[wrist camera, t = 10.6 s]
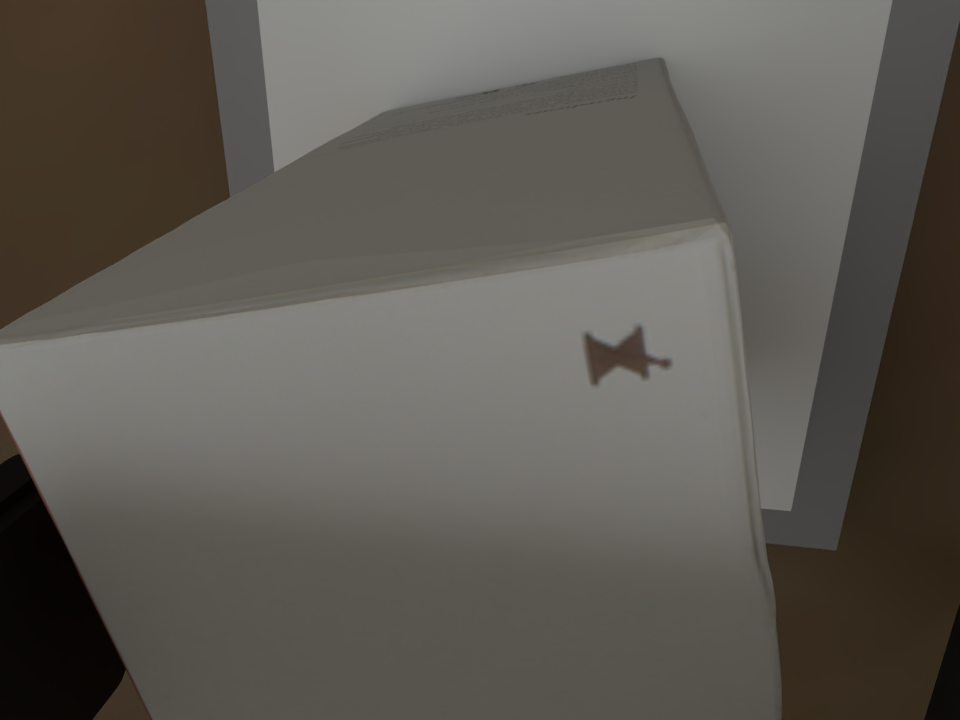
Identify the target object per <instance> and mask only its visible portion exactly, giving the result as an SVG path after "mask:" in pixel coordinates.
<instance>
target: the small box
mask: <svg viewBox="0 0 960 720" xmlns="http://www.w3.org/2000/svg"><path fill="white" fill-rule="evenodd" d="M0 415H1V417H2V419H3V421H4V422H5V424H6V426H7V428H8V430H9V432H10V434H11V437H12V439H13V441H14V443H15V445H16V447H17V449H18V451H19V453H20V455H21V457H22V459H23V461H24V463H25V465H26V467H27V469H28V472H29V474H30V476H31V478H32V480H33V482H34V484H35V486H36V488H37V490H38V492H39V494H40V496H41V498H42V500H43V502H44V504H45V506H46V508H47V510H48V512H49V514H50V516H51V518H52V520H53V522H54V524H55V526H56V528H57V530H58V532H59V534H60V535H61V537H62V539H63V541H64V543H65V545H66V547H67V549H68V551H69V554H70V556H71V558H72V560H73V562H74V564H75V567H76V569H77V571H78V573H79V575H80V577H81V579H82V581H83V583H84V585H85V587H86V589H87V591H88V593H89V595H90V597H91V599H92V601H93V604H94V606H95V608H96V610H97V612H98V614H99V616H100V618H101V620H102V622H103V624H104V626H105V628H106V630H107V632H108V634H109V636H110V638H111V640H112V642H113V644H114V646H115V648H116V650H117V652H118V654H119V656H120V658H121V660H122V662H123V664H124V666H125V668H126V670H127V672H128V675H129V677H130V679H131V681H132V683H133V685H134V687H135V689H136V691H137V693H138V695H139V697H140V699H141V701H142V703H143V705H144V707H145V709H146V711H147V713H148V715H149V717H150V720H782V688H781V669H780V659H779V648H778V638H777V628H776V601H775V595H774V588H773V582H772V577H771V573H770V569H769V565H768V558H767V551H766V543H765V536H764V528H763V520H762V513H761V504H760V494H759V484H758V473H757V463H756V452H755V442H754V431H753V421H752V410H751V399H750V389H749V378H748V367H747V357H746V347H745V338H744V329H743V320H742V311H741V302H740V293H739V284H738V275H737V266H736V257H735V249H734V242H733V236H732V231H731V228H730V225H729V223H728V220H727V217H726V215H725V212H724V209H723V207H722V205H721V203H720V201H719V198H718V195H717V192H716V189H715V187H714V184H713V182H712V179H711V177H710V174H709V172H708V169H707V167H706V164H705V162H704V159H703V157H702V155H701V152H700V150H699V147H698V145H697V142H696V139H695V136H694V134H693V131H692V129H691V127H690V124H689V122H688V120H687V117H686V115H685V113H684V110H683V108H682V106H681V104H680V102H679V101H678V98H677V96H676V94H675V91H674V89H673V87H672V84H671V81H670V77H669V72H668V70H667V67H666V63H665V60H664V59H663V58H654V59H649V60H644V61H639V62H634V63H629V64H623V65H618V66H613V67H608V68H603V69H598V70H593V71H588V72H583V73H578V74H573V75H568V76H563V77H558V78H553V79H548V80H543V81H538V82H532V83H527V84H522V85H517V86H512V87H507V88H502V89H497V90H492V91H487V92H482V93H476V94H471V95H466V96H461V97H455V98H450V99H444V100H439V101H434V102H429V103H424V104H419V105H414V106H409V107H404V108H399V109H394V110H389V111H385V112H382V113H380V114H379V115H377V116H374V117H373V118H371V119H370V120H368V121H366V122H364V123H362V124H360V125H359V126H357V127H355V128H354V129H352V130H350V131H348V132H346V133H344V134H342V135H340V136H338V137H336V138H334V139H332V140H330V141H328V142H327V143H325V144H323V145H321V146H319V147H318V148H316V149H314V150H312V151H310V152H309V153H307V154H305V155H304V156H302V157H300V158H299V159H297V160H295V161H293V162H292V163H290V164H288V165H286V166H285V167H283V168H281V169H279V170H278V171H276V172H274V173H273V174H271V175H269V176H268V177H266V178H265V179H263V180H261V181H259V182H257V183H256V184H254V185H252V186H250V187H248V188H246V189H245V190H243V191H241V192H239V193H236V194H234V195H233V196H231V197H230V198H228V199H227V200H225V201H223V202H221V203H219V204H217V205H216V206H214V207H212V208H210V209H208V210H206V211H204V212H203V213H201V214H199V215H197V216H196V217H194V218H192V219H190V220H189V221H187V222H185V223H184V224H182V225H181V226H179V227H178V228H176V229H175V230H173V231H171V232H169V233H167V234H165V235H163V236H162V237H160V238H158V239H156V240H154V241H153V242H151V243H149V244H147V245H146V246H144V247H142V248H140V249H139V250H137V251H135V252H134V253H132V254H130V255H129V256H127V257H125V258H124V259H122V260H120V261H119V262H117V263H115V264H113V265H112V266H110V267H108V268H106V269H104V270H102V271H100V272H99V273H97V274H95V275H93V276H91V277H90V278H88V279H86V280H84V281H82V282H81V283H79V284H77V285H75V286H74V287H72V288H70V289H69V290H67V291H65V292H64V293H62V294H61V295H59V296H57V297H56V298H54V299H52V300H51V301H49V302H47V303H45V304H43V305H42V306H40V307H38V308H36V309H34V310H32V311H31V312H29V313H27V314H25V315H24V316H22V317H20V318H19V319H17V320H15V321H14V322H12V323H11V324H9V325H7V326H6V327H4V328H2V329H1V330H0Z"/></svg>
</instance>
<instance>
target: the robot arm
mask: <svg viewBox="0 0 960 720" xmlns="http://www.w3.org/2000/svg"><path fill="white" fill-rule="evenodd" d="M125 669H126V668H125V666H124V664H123V662H122V660H121V658H120V656H119V654H118V652H117V650H116V648H115V646H114V644H113V642H112V640H111V638H110V636H109V634H108V632H107V630H106V628H105V626H104V624H103V622H102V620H101V618H100V616H99V614H98V612H97V610H96V608H95V606H94V604H93V601H92V599H91V597H90V595H89V593H88V591H87V589H86V587H85V585H84V583H83V581H82V579H81V577H80V575H79V573H78V571H77V569H76V567H75V564H74V562H73V560H72V558H71V556H70V554H69V551H68V549H67V547H66V545H65V543H64V541H63V539H62V537H61V535H60V534H59V532H58V530H57V528H56V526H55V524H54V522H53V520H52V518H51V516H50V514H49V512H48V510H47V508H46V506H45V504H44V502H43V500H42V498H41V496H40V494H39V492H38V490H37V488H36V486H35V484H34V482H33V480H32V478H31V476H30V474H29V472H28V469H27V467H26V465H25V463H24V461H23V459H22V457H21V455H20V454H18V455H15V456H13V457H11V458H9V459H8V460H6V461H5V462H3V463H2V464H1V465H0V720H92V719H93V718H94V717H95V715H96V714H97V713H98V712H99V710H100V709H101V708H102V706H103V705H104V704H105V703H106V701H107V700H108V699H109V697H110V696H111V695H112V694H113V692H114V691H115V690H116V688H117V687H118V685H119V684H120V682H121V680H122V678H123V675H124V673H125ZM924 720H960V605H959V608H958V611H957V615H956V618H955V621H954V624H953V628H952V631H951V634H950V638H949V641H948V644H947V647H946V651H945V654H944V657H943V660H942V664H941V667H940V670H939V674H938V677H937V680H936V683H935V687H934V690H933V693H932V696H931V700H930V703H929V706H928V710H927V713H926V716H925V719H924Z"/></svg>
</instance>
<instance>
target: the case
mask: <svg viewBox="0 0 960 720" xmlns="http://www.w3.org/2000/svg"><path fill="white" fill-rule="evenodd" d="M205 2H206V10H207V18H208V25H209V33H210V41H211V49H212V57H213V65H214V73H215V81H216V89H217V97H218V105H219V113H220V121H221V128H222V136H223V144H224V152H225V160H226V168H227V176H228V184H229V192H230V197H231V196H233V195H234V194H236V193H239V192H241V191H243V190H245V189H246V188H248V187H250V186H252V185H254V184H256V183H257V182H259V181H261V180H263V179H265V178H266V177H268V176H269V175H271V174H273V173H274V172H276V171H278V170H279V169H281V168H283V167H285V166H286V165H288V164H290V163H292V162H293V161H295V160H297V159H299V158H300V157H302V156H304V155H305V154H307V153H309V152H310V151H312V150H314V149H316V148H318V147H319V146H321V145H323V144H325V143H327V142H328V141H330V140H332V139H334V138H336V137H338V136H340V135H342V134H344V133H346V132H348V131H350V130H352V129H354V128H355V127H357V126H359V125H360V124H362V123H364V122H366V121H368V120H370V119H371V118H373V117H374V116H377V115H379V114H380V113H382V112H385V111H389V110H394V109H399V108H404V107H409V106H414V105H419V104H424V103H429V102H434V101H439V100H444V99H450V98H455V97H461V96H466V95H471V94H476V93H482V92H487V91H492V90H497V89H502V88H507V87H512V86H517V85H522V84H527V83H532V82H538V81H543V80H548V79H553V78H558V77H563V76H568V75H573V74H578V73H583V72H588V71H593V70H598V69H603V68H608V67H613V66H618V65H623V64H629V63H634V62H639V61H644V60H649V59H654V58H663V59H664V60H665V63H666V67H667V70H668V72H669V77H670V81H671V84H672V87H673V89H674V91H675V94H676V96H677V98H678V101H679V102H680V104H681V106H682V108H683V110H684V113H685V115H686V117H687V120H688V122H689V124H690V127H691V129H692V131H693V134H694V136H695V139H696V142H697V145H698V147H699V150H700V152H701V155H702V157H703V159H704V162H705V164H706V167H707V169H708V172H709V174H710V177H711V179H712V182H713V184H714V187H715V189H716V192H717V195H718V198H719V201H720V203H721V205H722V207H723V209H724V212H725V215H726V217H727V220H728V223H729V225H730V228H731V231H732V236H733V242H734V249H735V257H736V266H737V275H738V284H739V293H740V302H741V311H742V320H743V329H744V338H745V347H746V357H747V367H748V378H749V389H750V399H751V410H752V421H753V431H754V442H755V452H756V463H757V473H758V484H759V494H760V504H761V513H762V520H763V528H764V536H765V543H768V544H778V545H788V546H798V547H808V548H818V549H827V550H837V545H838V541H839V537H840V532H841V528H842V524H843V519H844V515H845V511H846V507H847V502H848V498H849V494H850V489H851V485H852V481H853V476H854V472H855V468H856V464H857V459H858V455H859V451H860V446H861V442H862V438H863V434H864V429H865V425H866V421H867V416H868V412H869V408H870V403H871V399H872V395H873V391H874V386H875V382H876V378H877V373H878V369H879V365H880V361H881V356H882V352H883V348H884V343H885V339H886V335H887V330H888V326H889V322H890V318H891V313H892V309H893V305H894V300H895V296H896V292H897V287H898V283H899V279H900V275H901V270H902V266H903V262H904V257H905V253H906V249H907V245H908V240H909V236H910V232H911V227H912V223H913V219H914V214H915V210H916V206H917V202H918V197H919V193H920V189H921V184H922V180H923V176H924V172H925V167H926V163H927V159H928V154H929V150H930V146H931V141H932V137H933V133H934V129H935V124H936V120H937V116H938V111H939V107H940V103H941V98H942V94H943V90H944V86H945V81H946V77H947V73H948V68H949V64H950V60H951V56H952V51H953V47H954V43H955V38H956V34H957V30H958V25H959V21H960V0H205Z"/></svg>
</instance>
